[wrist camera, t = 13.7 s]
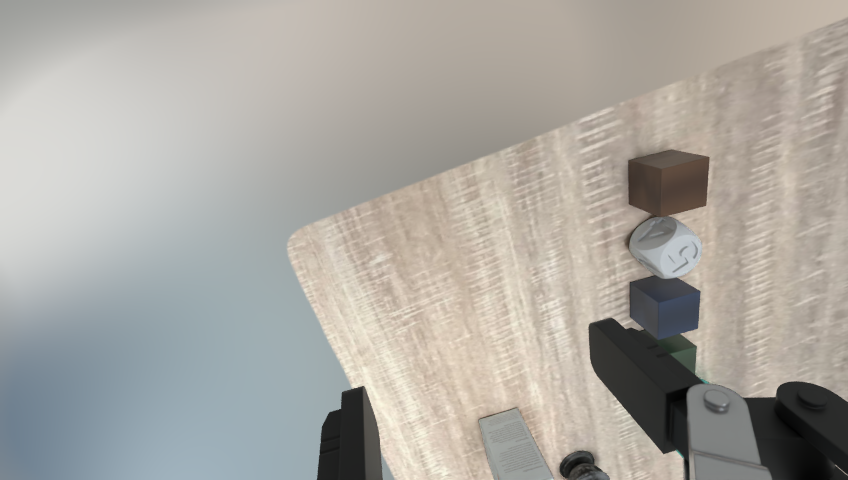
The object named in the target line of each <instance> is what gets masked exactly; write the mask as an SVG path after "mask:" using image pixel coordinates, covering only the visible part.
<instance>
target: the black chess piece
mask: <svg viewBox="0 0 848 480" xmlns="http://www.w3.org/2000/svg"><path fill="white" fill-rule="evenodd" d="M560 473H561V475H562V476H563V477H565V478H567V479H568V480H610V478H609V476H608V475H607V474H606V473H605V472H603V471H602V470H601V469H600V468H598V467H597V466H595V465H594V457H593V456H592V454H591V453H589V452H586V451H578V452H575V453H572V454H570V455H569V456H567V457H566V458H565V459H564V460H563V461H562V463H561V465H560Z"/></svg>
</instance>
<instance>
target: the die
mask: <svg viewBox="0 0 848 480" xmlns="http://www.w3.org/2000/svg"><path fill="white" fill-rule="evenodd" d="M629 250H630V252H631V253H632V254H633V256H634V257H635V258H636V259H637V260H638V261H639V262H640V263H641V264H642V265H643V266H645V267H646V268H647V269H648V270H649V271H651V272H652V273H653V274H655V275H656V276H658V277H660V278H662V279H671V278H676V277H679V276H682V275H684V274H686V273H688V272H689V271H691V270H692V269H693V268H694V267H695V266H696V264H697V263H698V261H699V259H700V257H701V253H702V243H701V241H700V239H699V238H698V237H697V236H696V234H695V233H694V232H693V231H691V230H690V229H689V228H688V227H687V226H685V225H684V224H683V223H681V222H679V221H678V220H676V219H674V218H672V217H669V216H665V217H655V218H652V219H649V220H647V221H645V222H644V223H642V224H641V225H640V226H638V227H637V228H636V230H635V231H634V233H633V234H632V236H631V239H630V244H629Z"/></svg>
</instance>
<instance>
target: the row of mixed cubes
mask: <svg viewBox="0 0 848 480" xmlns="http://www.w3.org/2000/svg"><path fill="white" fill-rule="evenodd" d="M708 171H709V157H707V156H701V155H696V154H691V153H686V152H681V151H676V150H669V151H665V152H660V153H656V154H652V155H648V156H644V157H640V158H636V159H632V160H629V204H630V205H632V206H634V207H637V208H639V209H642V210H644V211H646V212H649V213H651V214H653V215H656V216H658V217H665V216H668V215H672V214H676V213H680V212H684V211H688V210H691V209H695V208H699V207H703V206H706V201H707V186H708ZM699 306H700V291H699V290H697V289H696V288H694V287H692V286H691V285H689V284H687V283H685V282H684V281H682V280H680V279H679V278H677V277H676V278H671V279H662V278H660V277H658V276H652V277H649V278H645V279H641V280H638V281H634V282H630V317H631V318H632V319H633V320H634V321H636V322H637V323H638V324H639V325H641V326H642V327H643V328H644V329H645V330H642V331H640V332H642V333H645V334H647V335H648V336H649V337H650V338H652V339H653V340H654V341H655V342H656V343H658V344H659V346H661V347H662V348H664V349H665V350H666V351H667V352H668V354H669V355H670V354H671V355H672V356H673V357H674V358H675V359H677V360H678V361H679V362H680V363H681V364H683V365H684V366H685V367H686V368H687V369H689V370H690V371H691V372H692V373H693V374H695V364H696V349H697V346H695V345H694V344H693V343H691V342H690V341H689V340H688V339H686V338H685V337H684V336H682V335H681V334H680V333H684V332H687V331H691V330H694V329H698V321H699Z"/></svg>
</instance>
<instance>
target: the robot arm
mask: <svg viewBox="0 0 848 480" xmlns="http://www.w3.org/2000/svg"><path fill="white" fill-rule="evenodd" d="M589 345H590V360H591V364H592V367H593V369H594V371H595V373H596V374H597V376H598V377H599V378H600V380H601V381H602V382H603V383H604V384H605V386H606V387H607V388H608V389H609V390H610V391H611V393H612V394H613V395H614V396H615V397H616V398H617V400H618V401H619V402H620V403H621V404H622V406H623V407H624V408H625V409H626V410H627V411H628V413H629V414H630V415H631V416H632V417H633V419H634V420H635V421H636V422H637V423H638V424H639V426H640V427H641V428H642V429H643V430H644V431H645V433H646V434H647V435H648V436H649V437H650V439H651V440H652V441H653V442H654V443H655V444H656V446H657V447H658V448H659V449H660V450H661V452H662V453H663V454H665V453H669V452H672V451H675V450H678V451H679V452H680V453H681V455H682V456H683V478H684V480H848V476H847V475H848V402H847V401H845V400H844V399H842V398H841V397H839V396H838V395H837V394H835V393H833V392H832V391H830V390H828V389H826V388H823V387H821V386H818V385H815V384H811V383H806V382H797V381H796V382H787V383H784V384H782V385H780V386H779V387H778V389H777V393H776V397H768V398H742V397H741V396H740V395H739V394H737V393H736V392H734V391H732V390H731V389H729V388H726V387H723V386H720V385H716V384H705V383H704V382H703V381H702V380H701V379H699V378H698V377H697V376H696V375H695V374H693V373H692V372H691V371H690V370H689V369H687V368H686V367H685V366H684V365H683V364H681V363H680V362H679V361H678V360H677V359H675V358H674V357H673V356H672V355H671V354H670V355H669V354H668V352H667V351H666V350H665V349H664V348H662V347H661V346H659V344H658V343H656V342H655V341H654V340H653V339H652V338H650V337H649V336H648V335H647V334H645V333H642V332H640V331H638V330H635V329H633V328H629V329H625V328H624V327H623V326H621V325H620V324H619V323H618V322H617V321H616V320H615V319H613V318H607V319H604V320H600V321H597V322H593V323H590V324H589ZM835 464H836V465H837V466H838V467H839V468H840V469H841V470H843V471H844V472H845V473H846V474H847V475H846V474H845V473H843V472H842V471H841V470H840V469H839V468H837V467H836V466H835ZM317 480H383V478H382V464H381V450H380V438H379V431H378V426H377V422H376V418H375V415H374V412H373V409H372V406H371V403H370V400H369V397H368V394H367V391H366V389H365V387H364V386H362V387H358V388H354V389H351V390H347V391H344V392H342V402H341V409H339V410H336V411H333V412H330V413H329V414H328V416H327V418H326V420H325V422H324V424H323V426H322V433H321V444H320V455H319V465H318V476H317Z"/></svg>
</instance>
